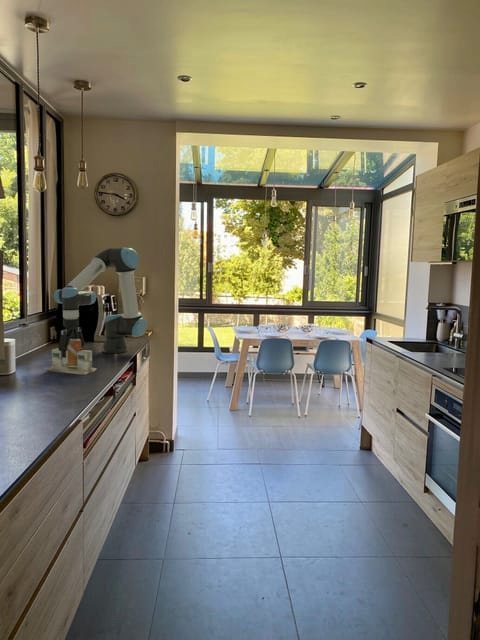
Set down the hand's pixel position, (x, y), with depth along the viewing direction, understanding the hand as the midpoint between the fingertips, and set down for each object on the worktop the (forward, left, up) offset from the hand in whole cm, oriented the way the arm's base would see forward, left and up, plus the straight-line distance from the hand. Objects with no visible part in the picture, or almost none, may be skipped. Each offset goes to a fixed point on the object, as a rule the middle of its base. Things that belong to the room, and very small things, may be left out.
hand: (72, 361), depth 225 cm
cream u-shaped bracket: (0, 0, -5) cm, 5 cm away
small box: (0, 0, -2) cm, 2 cm away
